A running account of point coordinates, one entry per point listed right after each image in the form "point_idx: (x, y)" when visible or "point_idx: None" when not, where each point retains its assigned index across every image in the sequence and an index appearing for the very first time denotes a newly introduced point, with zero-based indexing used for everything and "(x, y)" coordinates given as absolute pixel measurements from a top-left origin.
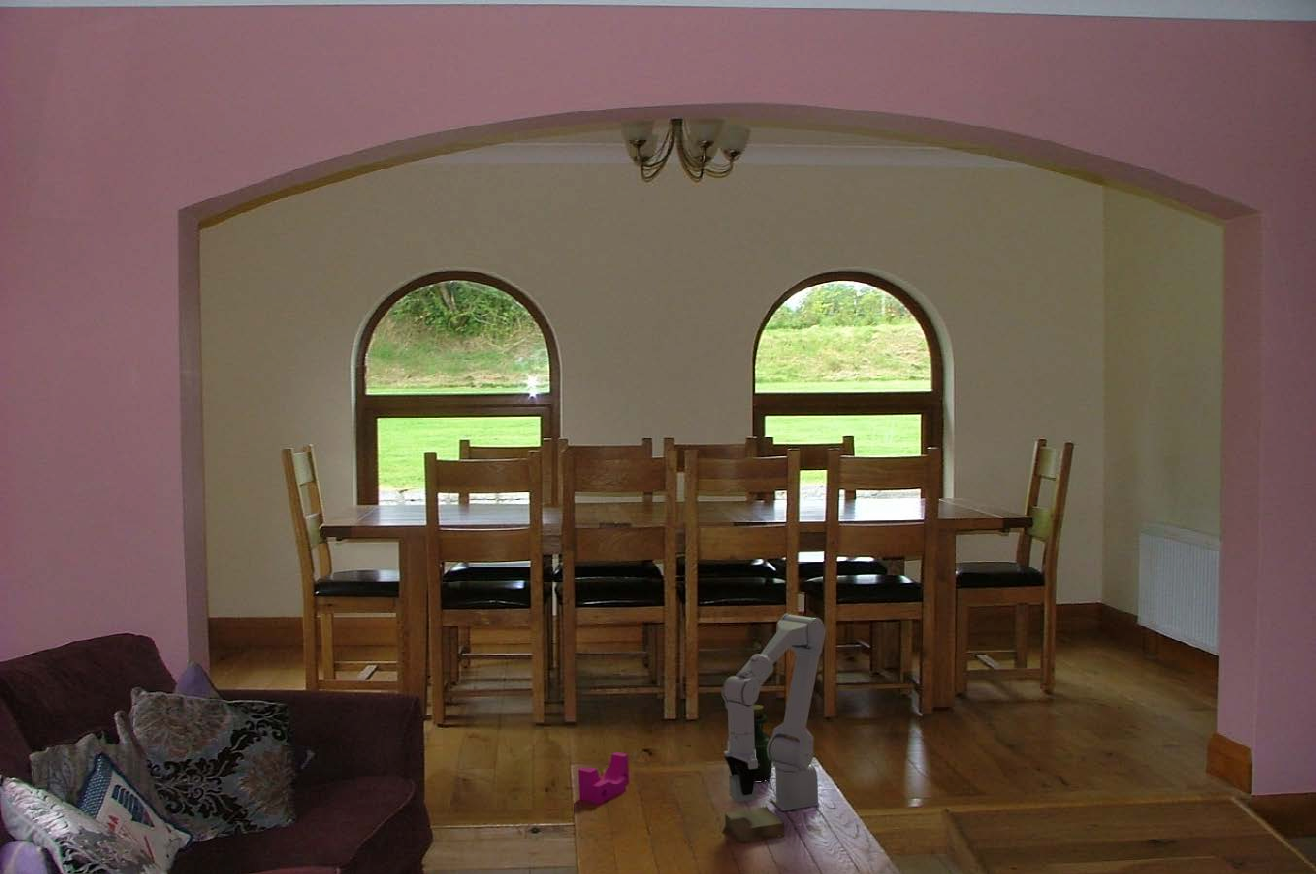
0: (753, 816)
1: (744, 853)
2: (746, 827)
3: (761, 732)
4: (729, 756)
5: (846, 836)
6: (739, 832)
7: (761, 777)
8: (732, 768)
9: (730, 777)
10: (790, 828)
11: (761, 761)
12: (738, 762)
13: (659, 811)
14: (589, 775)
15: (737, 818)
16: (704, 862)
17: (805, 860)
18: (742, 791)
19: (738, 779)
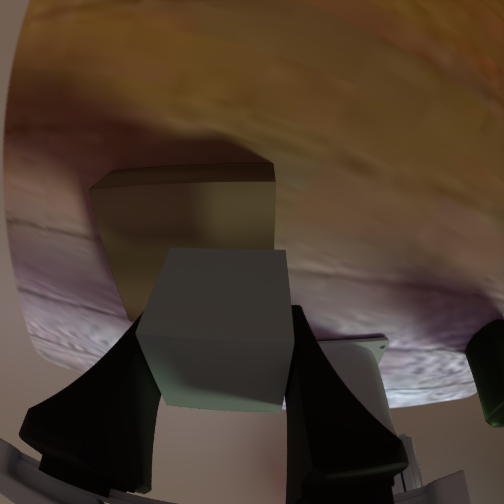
0: None
1: (47, 162)
2: (103, 213)
3: None
4: (353, 481)
5: None
6: (110, 181)
7: (473, 348)
8: (300, 404)
9: (263, 338)
10: None
11: (484, 378)
12: (294, 459)
13: (488, 29)
14: None
15: (198, 210)
16: (21, 42)
17: (24, 278)
18: (142, 313)
19: (189, 361)
